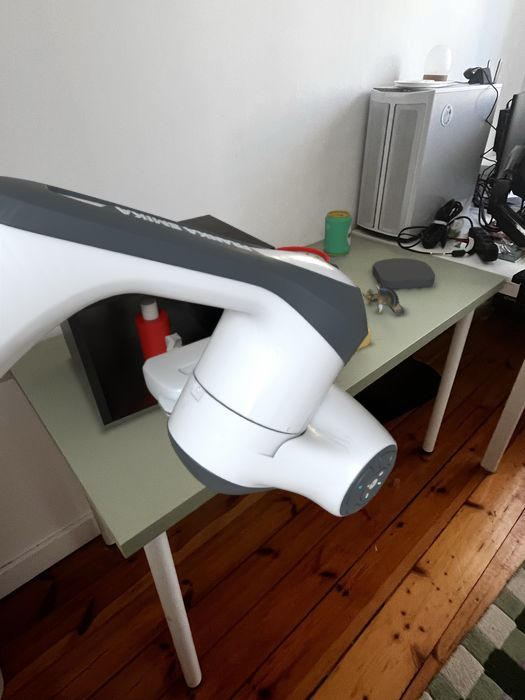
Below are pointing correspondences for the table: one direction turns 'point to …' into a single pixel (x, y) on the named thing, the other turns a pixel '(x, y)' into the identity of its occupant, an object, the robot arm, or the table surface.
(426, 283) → the media streaming box
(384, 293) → the animal figurine
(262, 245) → the toaster oven
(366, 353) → the table surface
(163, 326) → the sauce bottle
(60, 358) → the table surface
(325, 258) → the toy clock
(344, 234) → the beverage can
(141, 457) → the table surface
